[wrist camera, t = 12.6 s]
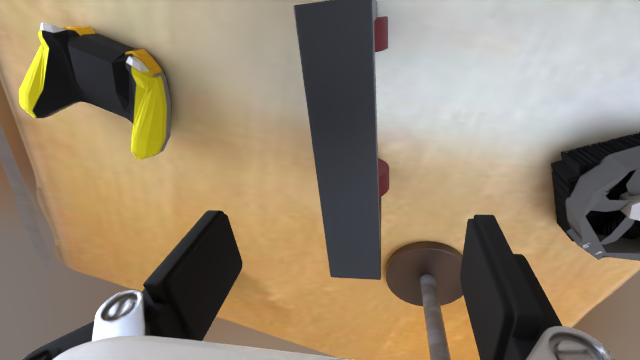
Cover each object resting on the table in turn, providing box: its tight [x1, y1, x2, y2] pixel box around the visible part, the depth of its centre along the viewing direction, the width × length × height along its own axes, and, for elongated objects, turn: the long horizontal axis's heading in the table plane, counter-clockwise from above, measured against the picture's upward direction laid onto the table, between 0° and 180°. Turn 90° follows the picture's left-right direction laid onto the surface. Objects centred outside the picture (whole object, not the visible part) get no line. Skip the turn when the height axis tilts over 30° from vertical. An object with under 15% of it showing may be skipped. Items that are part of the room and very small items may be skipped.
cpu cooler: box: [551, 132, 640, 261], centre depth 27 cm, size 10×6×10 cm
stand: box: [386, 242, 464, 360], centre depth 30 cm, size 10×10×20 cm
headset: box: [294, 0, 389, 280], centre depth 24 cm, size 5×17×14 cm, turn 7°
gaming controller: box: [19, 23, 171, 159], centre depth 31 cm, size 15×6×10 cm
